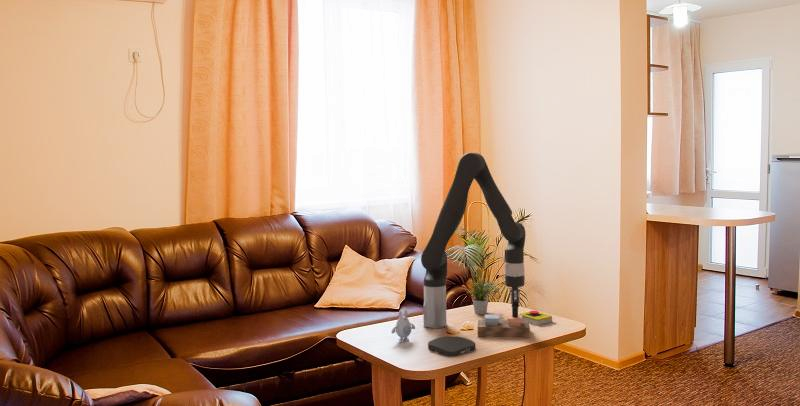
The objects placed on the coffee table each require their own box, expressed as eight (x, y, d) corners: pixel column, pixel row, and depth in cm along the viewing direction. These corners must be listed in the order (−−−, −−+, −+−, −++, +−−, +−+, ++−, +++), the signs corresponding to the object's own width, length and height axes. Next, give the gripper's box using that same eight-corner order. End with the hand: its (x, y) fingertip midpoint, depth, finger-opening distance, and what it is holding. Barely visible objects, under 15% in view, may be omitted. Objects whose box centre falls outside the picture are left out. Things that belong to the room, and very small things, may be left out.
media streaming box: (452, 340, 226) (451, 333, 225) (480, 349, 214) (479, 341, 214) (423, 349, 216) (423, 341, 216) (451, 359, 205) (451, 351, 205)
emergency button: (531, 307, 257) (557, 314, 244) (531, 316, 257) (557, 324, 244) (515, 310, 252) (541, 317, 239) (515, 320, 252) (541, 328, 239)
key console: (477, 336, 229) (477, 326, 228) (478, 329, 238) (478, 319, 238) (529, 338, 225) (529, 328, 225) (528, 330, 235) (528, 320, 235)
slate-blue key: (484, 329, 230) (484, 318, 230) (484, 324, 236) (484, 314, 235) (499, 329, 229) (499, 318, 229) (499, 325, 235) (498, 314, 234)
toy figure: (396, 345, 220) (395, 314, 219) (387, 341, 225) (387, 311, 224) (419, 340, 225) (419, 310, 224) (411, 336, 231) (410, 306, 230)
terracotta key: (507, 329, 229) (507, 318, 228) (507, 325, 234) (507, 314, 234) (522, 329, 228) (522, 318, 227) (521, 325, 233) (521, 315, 233)
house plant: (500, 317, 255) (500, 280, 254) (469, 318, 255) (468, 281, 253) (494, 309, 269) (494, 274, 268) (464, 309, 269) (464, 274, 268)
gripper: (504, 270, 236) (505, 312, 238) (505, 277, 223) (505, 321, 225) (523, 270, 235) (524, 312, 237) (525, 277, 222) (525, 321, 224)
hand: (515, 316), depth 231 cm, fingers closed
